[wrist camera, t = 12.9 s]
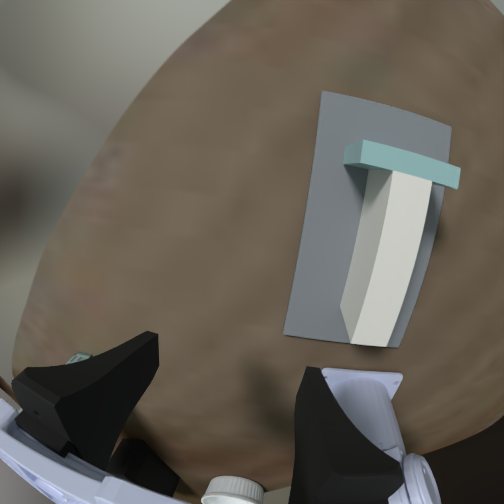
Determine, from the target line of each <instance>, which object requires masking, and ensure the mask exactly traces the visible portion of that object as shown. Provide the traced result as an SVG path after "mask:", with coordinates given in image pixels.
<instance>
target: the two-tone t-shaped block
mask: <svg viewBox="0 0 504 504" xmlns="http://www.w3.org/2000/svg"><path fill="white" fill-rule="evenodd" d="M343 164H345V165H350V166H355V167H360V168H364V169H369V170H368V177H367V183H366V189H365V195H364V201H363V207H362V212H361V217H360V223H359V228H358V233H357V237H356V242H355V247H354V251H353V256H352V260H351V264H350V269H349V273H348V277H347V281H346V285H345V289H344V293H343V296H342V300H341V304H340V308H341V311H342V315H343V318H344V322H345V325H346V329H347V332H348V336H349V340H350V343H351V344H360V345H370V346H382V347H386V346H387V344H388V341H389V339H390V336H391V334H392V331H393V328H394V326H395V323H396V320H397V318H398V315H399V312H400V309H401V306H402V303H403V300H404V297H405V294H406V291H407V288H408V285H409V281H410V278H411V275H412V271H413V268H414V264H415V260H416V257H417V253H418V249H419V245H420V241H421V237H422V232H423V228H424V223H425V219H426V214H427V209H428V203H429V198H430V192H431V186H432V185H437V186H443V187H448V188H454V189H458V184H459V177H460V170H461V168H459V167H456V166H453V165H450V164H447V163H444V162H442V161H439V160H436V159H432V158H429V157H426V156H423V155H420V154H417V153H413V152H410V151H406V150H403V149H399V148H396V147H392V146H388V145H384V144H380V143H376V142H372V141H368V140H361V141H358V142H356V143H353V144H351V145H348V146H346V147H345V154H344V161H343Z"/></svg>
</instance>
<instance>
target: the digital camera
mask: <svg viewBox="0 0 504 504" xmlns="http://www.w3.org/2000/svg"><path fill="white" fill-rule="evenodd" d="M105 472H107V473H109V474H111V475H113V476H115V477H118V478H121V479H124V480H126V481H129V482H131V483H134V484H136V485H139V486H141V487H144V488H146V489H149V490H152V491H154V492H157V493H160V494H163V495H166V496H169V497H173V494H174V492H175V489H176V487H177V484H178V481H179V479H180V477H179V476H178V475H177V474H176V473H175V472H174V471H173V470H172V469H171V468H169V467H168V466H167V465H166V464H165V463H164V462H163V461H162V460H161V459H160V458H159V457H158V456H157V455H156V454H155V452H154V451H153V450H152V449H151V448H150V447H149V446H148V445H147V444H146V443H145V442H144V441H143V440H133V439H122V441H121V442H120V444H119V446H118V447H117V449H116V451H115V452H114V454H113V456H112V457H111V459H110V460H109V462H108V465H107V468H106V471H105Z"/></svg>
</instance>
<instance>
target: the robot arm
mask: <svg viewBox="0 0 504 504" xmlns="http://www.w3.org/2000/svg"><path fill="white" fill-rule="evenodd" d="M158 367H159V346H158V334H156V333H153V332H149V331H146V332H144V333H142V334H140V335H138V336H136V337H134V338H133V339H131V340H129V341H127V342H125V343H123V344H121V345H119V346H117V347H115V348H113V349H111V350H109V351H106V352H104V353H102V354H100V355H97V356H94V357H92V358H88V359H85V360H82V361H78V362H74V363H70V364H65V365H59V366H50V367H27V368H26V369H24V370H23V371H22V372H21V373H20V374H19V375H18V376H17V377H16V378H14V379H13V380H12V383H11V384H12V389H13V392H14V394H15V396H16V398H17V400H18V402H19V404H20V406H21V408H22V412H21V413H20V414H19V413H18V411H17V410H15V408H14V407H12V406H11V405H10V404H9V403H7V402H6V401H5V400H3V399H2V398H1V399H0V458H1V459H2V460H3V461H4V462H5V463H6V464H7V465H8V466H10V467H11V468H12V469H13V470H14V471H15V472H16V473H18V474H19V475H20V476H21V477H22V478H24V479H25V480H26V481H27V482H28V483H30V484H31V485H32V486H33V487H35V488H36V489H37V490H38V491H40V492H41V493H43V494H44V495H45V496H46V497H48V498H49V499H51V500H52V501H53V502H55V503H56V504H191V503H188V502H185V501H182V500H179V499H175V498H172V497H169V496H166V495H163V494H160V493H157V492H154V491H152V490H149V489H146V488H144V487H141V486H139V485H136V484H134V483H131V482H129V481H126V480H124V479H121V478H118V477H115V476H113V475H111V474H109V473H107V472H105V471H106V468H107V465H108V462H109V459H110V457H111V454H112V452H113V449H114V447H115V444H116V442H117V440H118V437H119V435H120V433H121V431H122V429H123V427H124V425H125V422H126V420H127V418H128V417H129V415H130V413H131V411H132V410H133V408H134V407H135V405H136V404H137V402H138V401H139V400H140V398H141V397H142V395H143V394H144V392H145V391H146V389H147V388H148V386H149V385H150V383H151V381H152V380H153V378H154V376H155V373H156V371H157V369H158ZM325 376H327V378H324V377H325ZM402 379H403V375H402V374H401V373H392V372H373V371H359V370H347V369H336V368H324V369H323V370H322V371H321V370H320V368H315V367H308V366H307V367H306V370H305V373H304V376H303V379H302V382H301V384H300V387H299V390H298V393H297V396H296V404H295V462H294V470H293V478H292V485H291V491H290V497H289V502H288V504H441V501H440V496H439V492H438V488H437V485H436V482H435V479H434V477H433V474H432V472H431V469H430V467H429V465H428V463H427V462H426V460H425V458H424V457H422V456H420V455H416V454H415V453H410V454H409V455H407V454H406V451H405V447H404V443H403V440H402V436H401V433H400V429H399V426H398V422H397V419H396V416H395V412H394V409H393V406H392V403H391V400H392V398H393V396H394V394H395V392H396V391H397V389H398V387H399V385H400V383H401V381H402ZM396 381H397V382H396ZM394 382H395V383H394Z"/></svg>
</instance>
